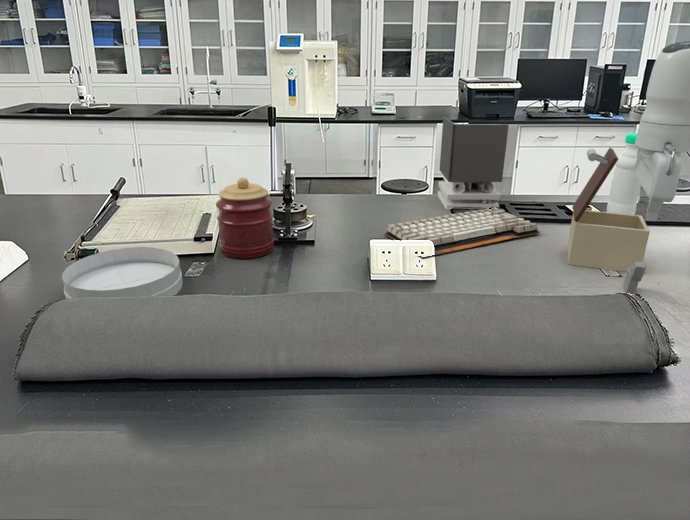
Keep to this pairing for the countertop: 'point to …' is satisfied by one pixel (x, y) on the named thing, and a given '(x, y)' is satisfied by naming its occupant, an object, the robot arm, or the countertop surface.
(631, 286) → the lighter
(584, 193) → the lid
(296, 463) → the countertop surface
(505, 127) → the electrical transformer
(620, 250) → the box
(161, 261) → the dish
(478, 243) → the mechanical keyboard
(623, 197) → the water bottle
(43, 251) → the countertop surface
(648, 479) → the countertop surface
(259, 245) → the kitchen canister
